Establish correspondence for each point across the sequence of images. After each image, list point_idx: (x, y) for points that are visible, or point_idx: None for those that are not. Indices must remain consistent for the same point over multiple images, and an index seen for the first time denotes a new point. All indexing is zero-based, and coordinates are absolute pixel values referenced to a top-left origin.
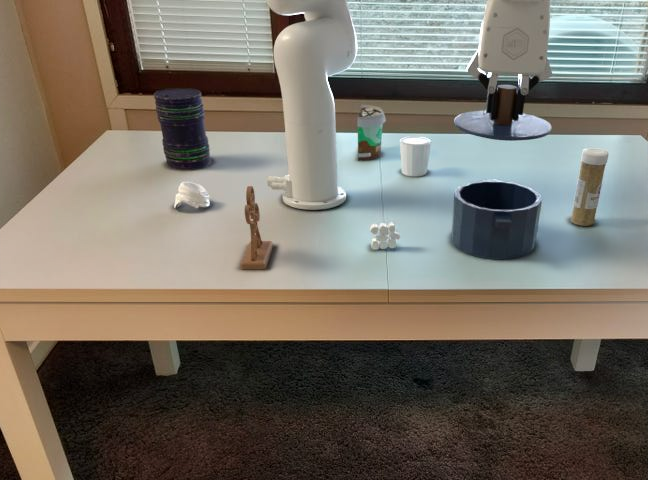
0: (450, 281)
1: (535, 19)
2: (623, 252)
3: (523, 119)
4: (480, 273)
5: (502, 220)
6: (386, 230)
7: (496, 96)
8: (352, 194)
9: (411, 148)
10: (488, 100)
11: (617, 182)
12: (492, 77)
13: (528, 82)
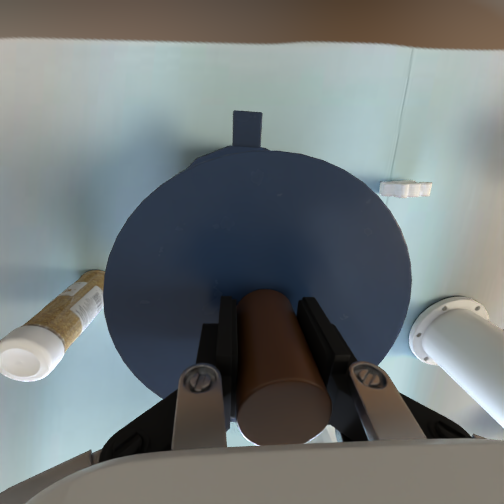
0: (321, 71)
1: None
2: (39, 180)
3: (191, 356)
4: (273, 100)
5: (250, 119)
6: (409, 183)
7: (332, 349)
8: (397, 346)
9: (331, 438)
10: (348, 350)
11: (37, 415)
12: (410, 433)
13: (176, 422)
